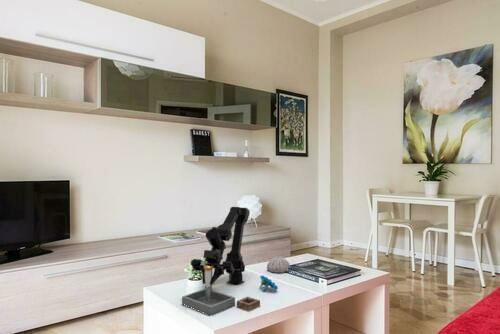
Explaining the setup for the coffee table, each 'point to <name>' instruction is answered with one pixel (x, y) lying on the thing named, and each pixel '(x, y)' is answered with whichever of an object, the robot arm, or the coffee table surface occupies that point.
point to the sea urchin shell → (278, 265)
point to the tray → (209, 302)
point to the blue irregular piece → (267, 283)
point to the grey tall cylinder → (208, 281)
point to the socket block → (248, 303)
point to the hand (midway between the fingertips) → (207, 284)
